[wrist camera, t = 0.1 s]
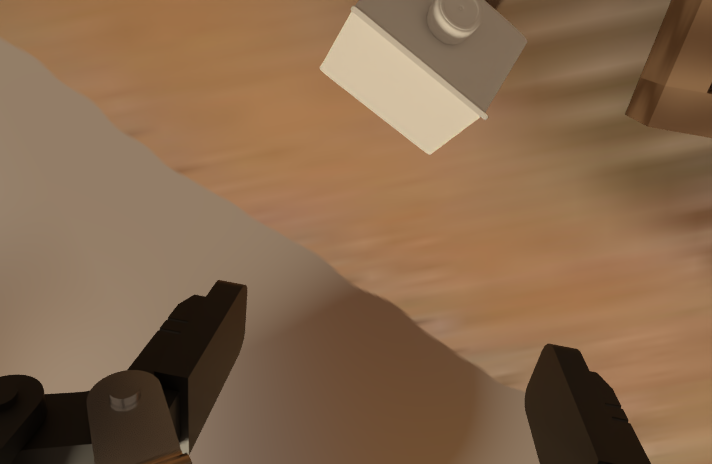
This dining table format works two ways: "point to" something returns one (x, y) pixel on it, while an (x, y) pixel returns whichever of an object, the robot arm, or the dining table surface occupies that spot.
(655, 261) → the dining table surface
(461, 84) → the milk carton
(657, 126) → the socket block
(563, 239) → the dining table surface
